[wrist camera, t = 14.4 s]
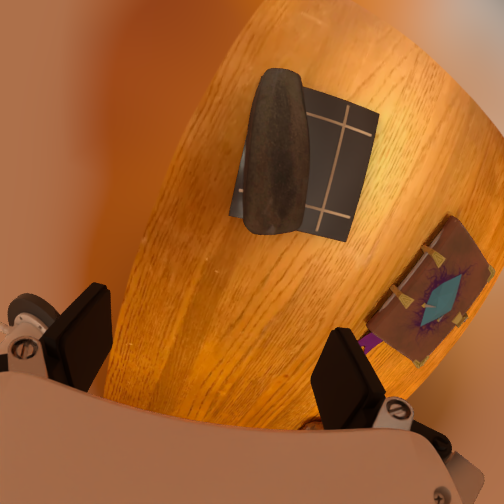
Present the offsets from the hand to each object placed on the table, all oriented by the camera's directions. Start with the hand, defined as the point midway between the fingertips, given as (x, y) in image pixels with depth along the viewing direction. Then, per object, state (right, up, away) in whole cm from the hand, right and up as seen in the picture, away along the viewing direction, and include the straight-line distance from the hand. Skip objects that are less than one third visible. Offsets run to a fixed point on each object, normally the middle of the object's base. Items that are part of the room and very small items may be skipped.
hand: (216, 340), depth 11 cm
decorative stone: (+4, +14, +17) cm, 23 cm away
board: (+7, +14, +19) cm, 25 cm away
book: (+28, -4, +26) cm, 39 cm away
